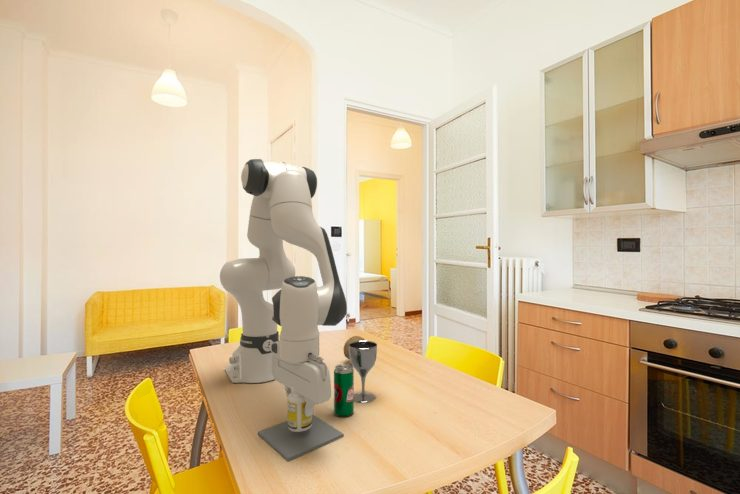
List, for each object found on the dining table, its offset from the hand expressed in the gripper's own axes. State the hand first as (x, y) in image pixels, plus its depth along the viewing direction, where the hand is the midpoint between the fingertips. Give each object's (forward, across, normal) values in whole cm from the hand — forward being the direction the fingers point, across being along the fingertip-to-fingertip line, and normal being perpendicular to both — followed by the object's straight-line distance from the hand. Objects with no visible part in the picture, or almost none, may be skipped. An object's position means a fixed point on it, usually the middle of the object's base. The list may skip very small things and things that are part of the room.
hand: (300, 409), depth 83 cm
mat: (+6, 0, 0) cm, 6 cm away
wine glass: (+6, +6, -24) cm, 25 cm away
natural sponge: (+6, +30, -41) cm, 51 cm away
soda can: (+6, +2, -14) cm, 15 cm away
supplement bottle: (+4, 0, 0) cm, 4 cm away
